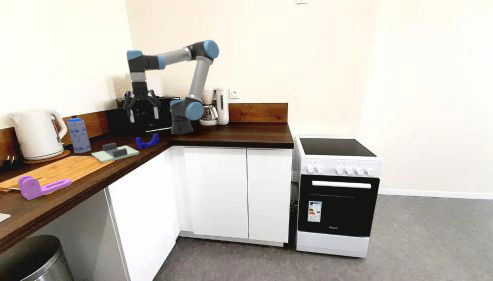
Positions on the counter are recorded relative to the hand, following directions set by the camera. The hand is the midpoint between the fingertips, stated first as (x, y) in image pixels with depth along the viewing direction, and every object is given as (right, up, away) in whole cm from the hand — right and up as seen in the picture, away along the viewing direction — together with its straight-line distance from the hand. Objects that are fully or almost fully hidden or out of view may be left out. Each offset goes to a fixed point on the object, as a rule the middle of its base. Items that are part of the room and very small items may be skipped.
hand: (145, 120), depth 122 cm
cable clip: (0, -15, +5) cm, 16 cm away
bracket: (-14, -30, -44) cm, 55 cm away
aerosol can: (-35, -17, 0) cm, 39 cm away
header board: (-11, -19, -9) cm, 24 cm away
